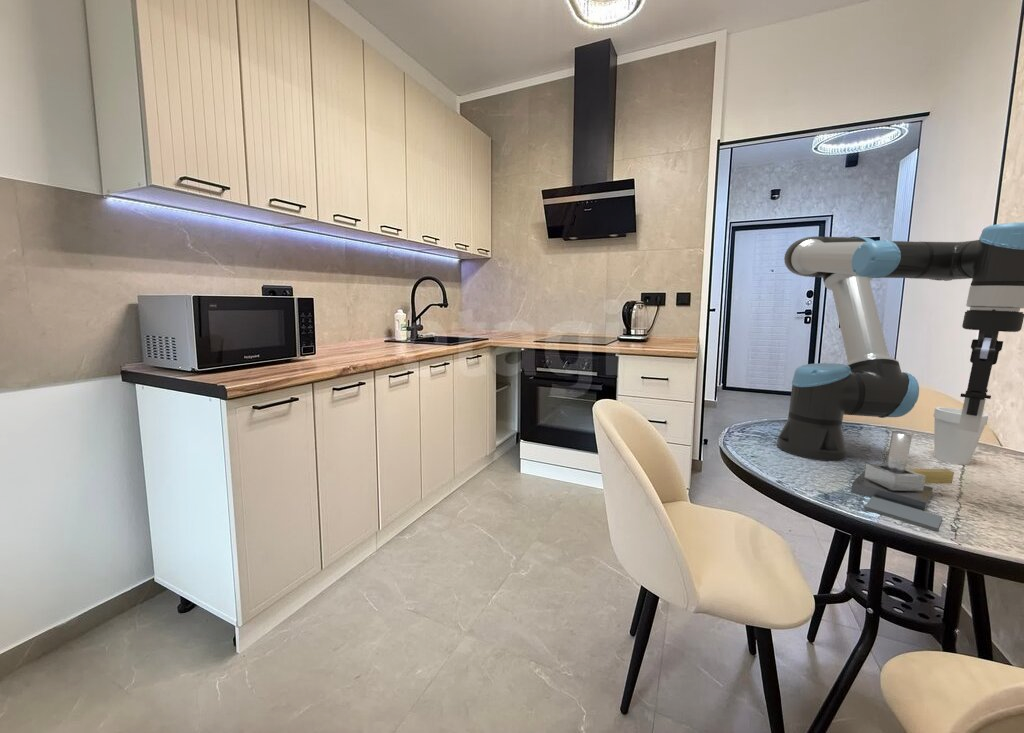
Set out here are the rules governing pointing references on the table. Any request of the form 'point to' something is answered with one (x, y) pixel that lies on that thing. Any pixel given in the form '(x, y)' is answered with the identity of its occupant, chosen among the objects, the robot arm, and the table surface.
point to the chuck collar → (907, 477)
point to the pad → (904, 513)
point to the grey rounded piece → (954, 436)
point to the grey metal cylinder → (898, 452)
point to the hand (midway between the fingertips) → (968, 430)
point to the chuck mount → (892, 493)
